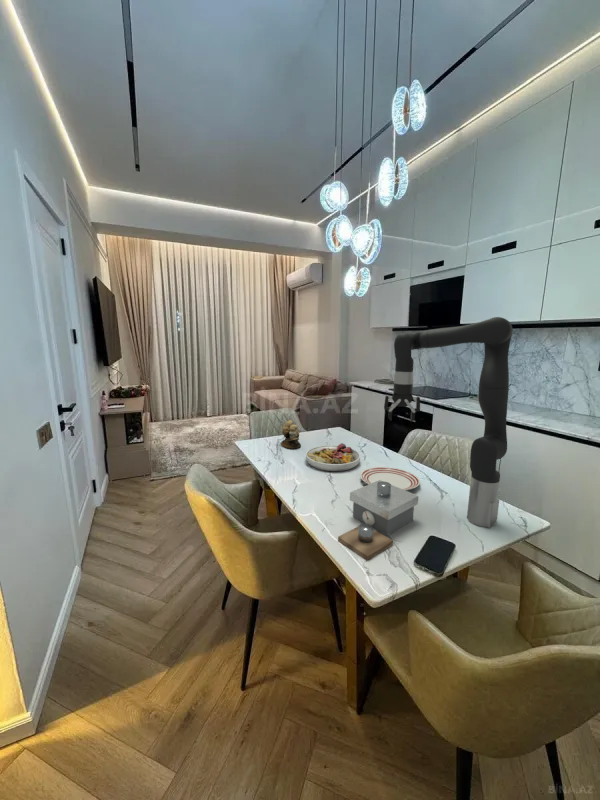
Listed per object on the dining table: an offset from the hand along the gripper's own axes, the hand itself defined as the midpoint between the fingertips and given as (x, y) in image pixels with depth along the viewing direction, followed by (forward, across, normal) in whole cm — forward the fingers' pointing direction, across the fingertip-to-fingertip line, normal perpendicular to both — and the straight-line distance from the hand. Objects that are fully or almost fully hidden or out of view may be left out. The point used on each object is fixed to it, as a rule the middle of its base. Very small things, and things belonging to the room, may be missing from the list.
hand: (401, 420), depth 139 cm
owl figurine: (+34, +61, -57) cm, 90 cm away
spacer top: (+33, +13, +37) cm, 51 cm away
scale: (+34, +7, +20) cm, 40 cm away
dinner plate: (+35, +2, -13) cm, 37 cm away
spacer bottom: (+24, +7, +20) cm, 32 cm away
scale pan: (+27, +7, +20) cm, 35 cm away
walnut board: (+34, +13, +37) cm, 52 cm away
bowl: (+35, +32, -34) cm, 58 cm away
